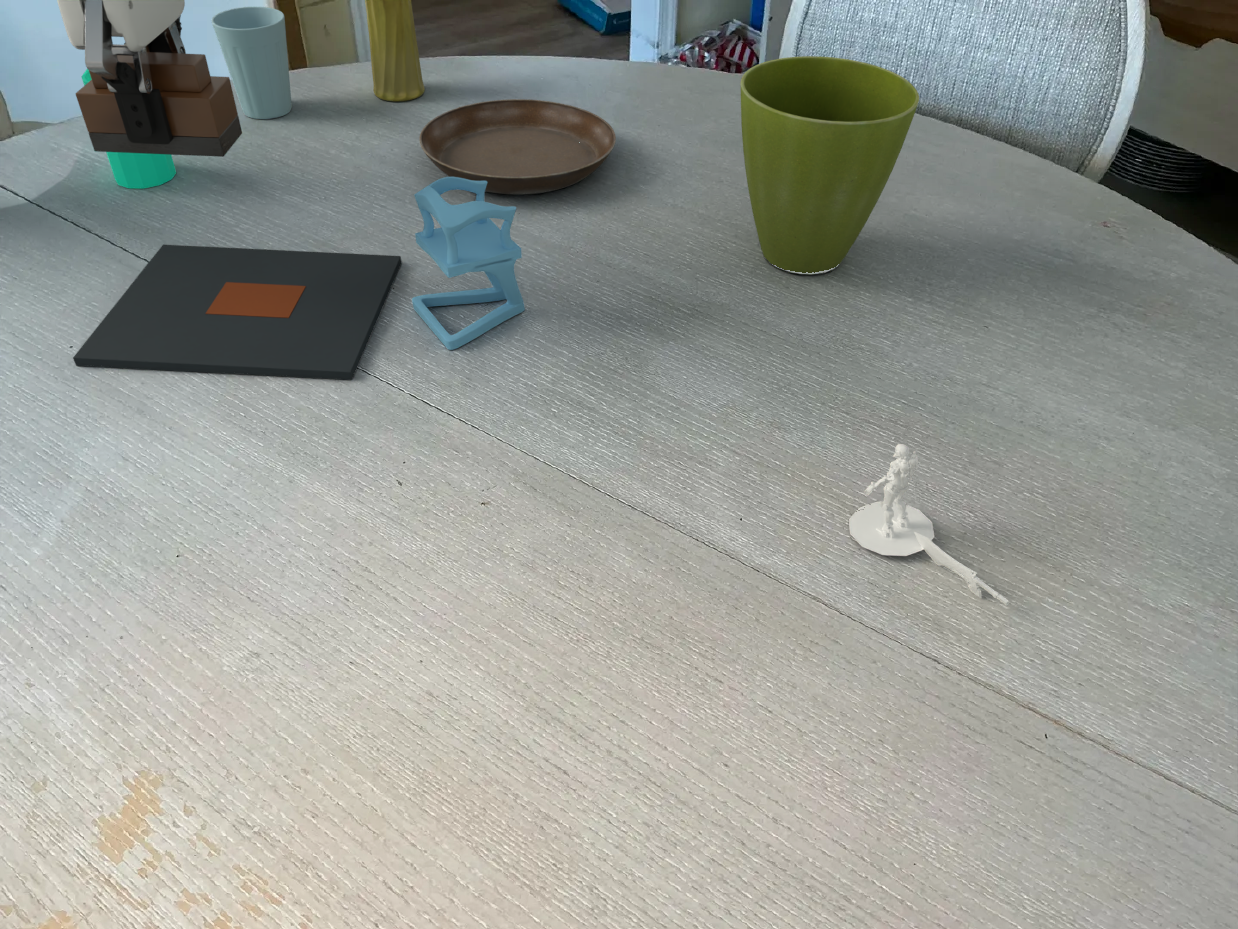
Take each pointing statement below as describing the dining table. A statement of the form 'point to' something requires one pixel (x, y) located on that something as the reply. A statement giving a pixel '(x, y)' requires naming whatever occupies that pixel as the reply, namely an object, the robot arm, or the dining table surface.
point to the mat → (245, 313)
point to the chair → (468, 255)
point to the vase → (394, 50)
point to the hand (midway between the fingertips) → (164, 125)
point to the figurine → (904, 523)
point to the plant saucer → (518, 144)
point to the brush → (168, 109)
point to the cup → (256, 59)
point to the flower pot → (819, 152)
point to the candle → (139, 165)
